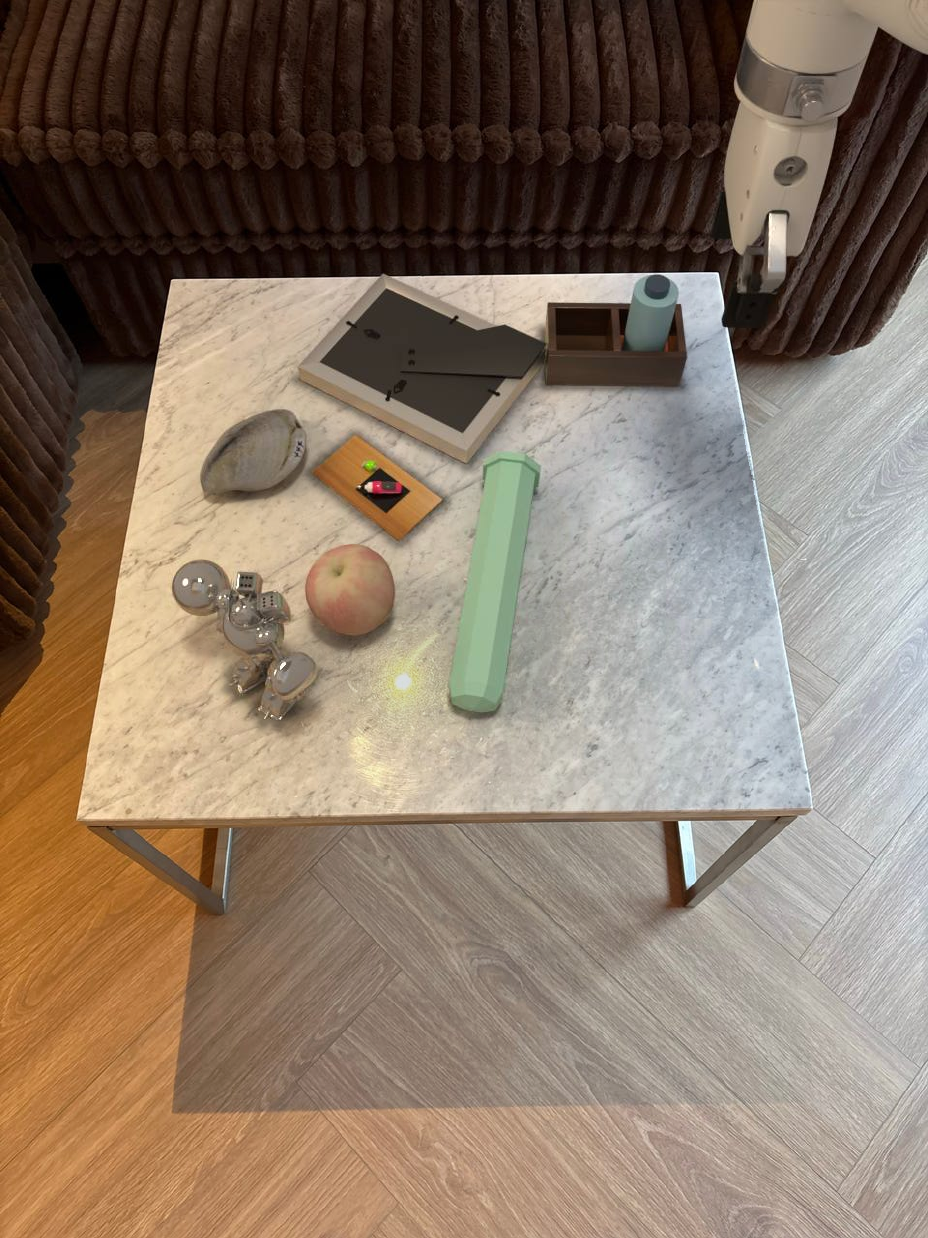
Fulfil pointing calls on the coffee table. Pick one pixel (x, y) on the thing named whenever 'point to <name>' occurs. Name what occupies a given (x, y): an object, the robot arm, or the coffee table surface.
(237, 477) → the seashell
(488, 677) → the container
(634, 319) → the bottle
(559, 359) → the holder
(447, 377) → the picture frame
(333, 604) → the apple
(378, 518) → the board
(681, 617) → the coffee table surface
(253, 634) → the robot toy
